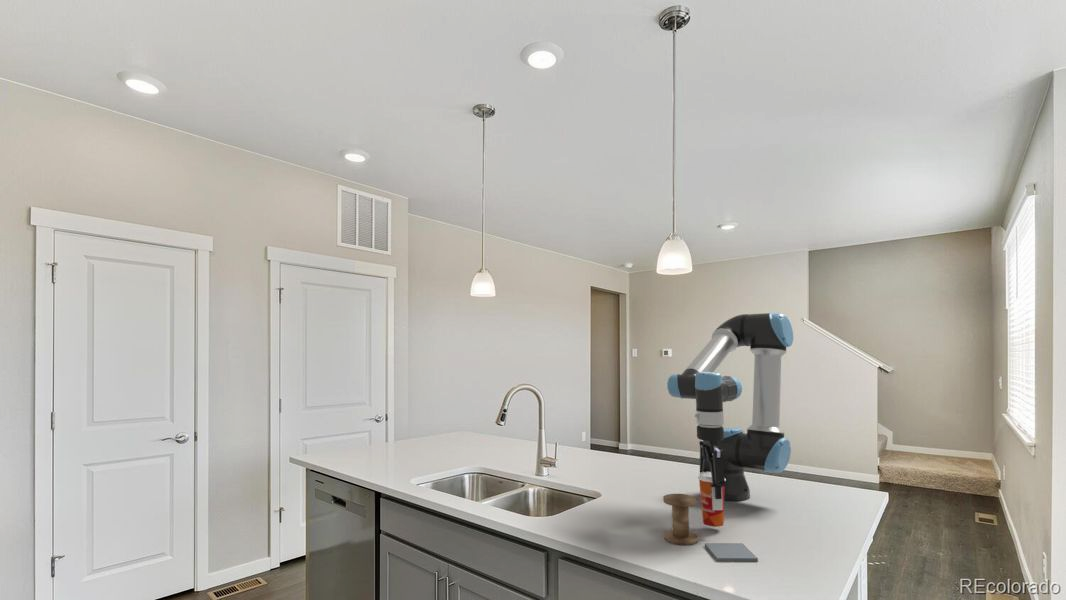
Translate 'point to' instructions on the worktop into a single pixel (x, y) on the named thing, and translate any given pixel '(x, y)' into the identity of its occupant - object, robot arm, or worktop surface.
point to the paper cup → (709, 501)
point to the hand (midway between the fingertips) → (712, 504)
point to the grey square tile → (731, 552)
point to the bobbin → (680, 519)
